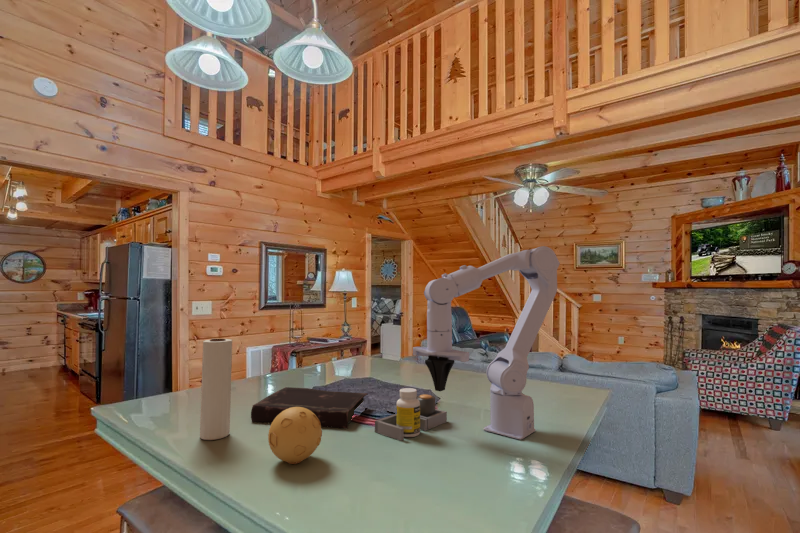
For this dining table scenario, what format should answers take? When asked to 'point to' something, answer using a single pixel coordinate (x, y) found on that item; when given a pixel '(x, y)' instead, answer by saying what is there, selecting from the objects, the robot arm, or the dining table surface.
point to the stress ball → (294, 434)
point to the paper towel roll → (216, 389)
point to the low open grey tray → (427, 419)
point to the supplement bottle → (408, 412)
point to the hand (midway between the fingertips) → (440, 390)
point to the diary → (310, 405)
